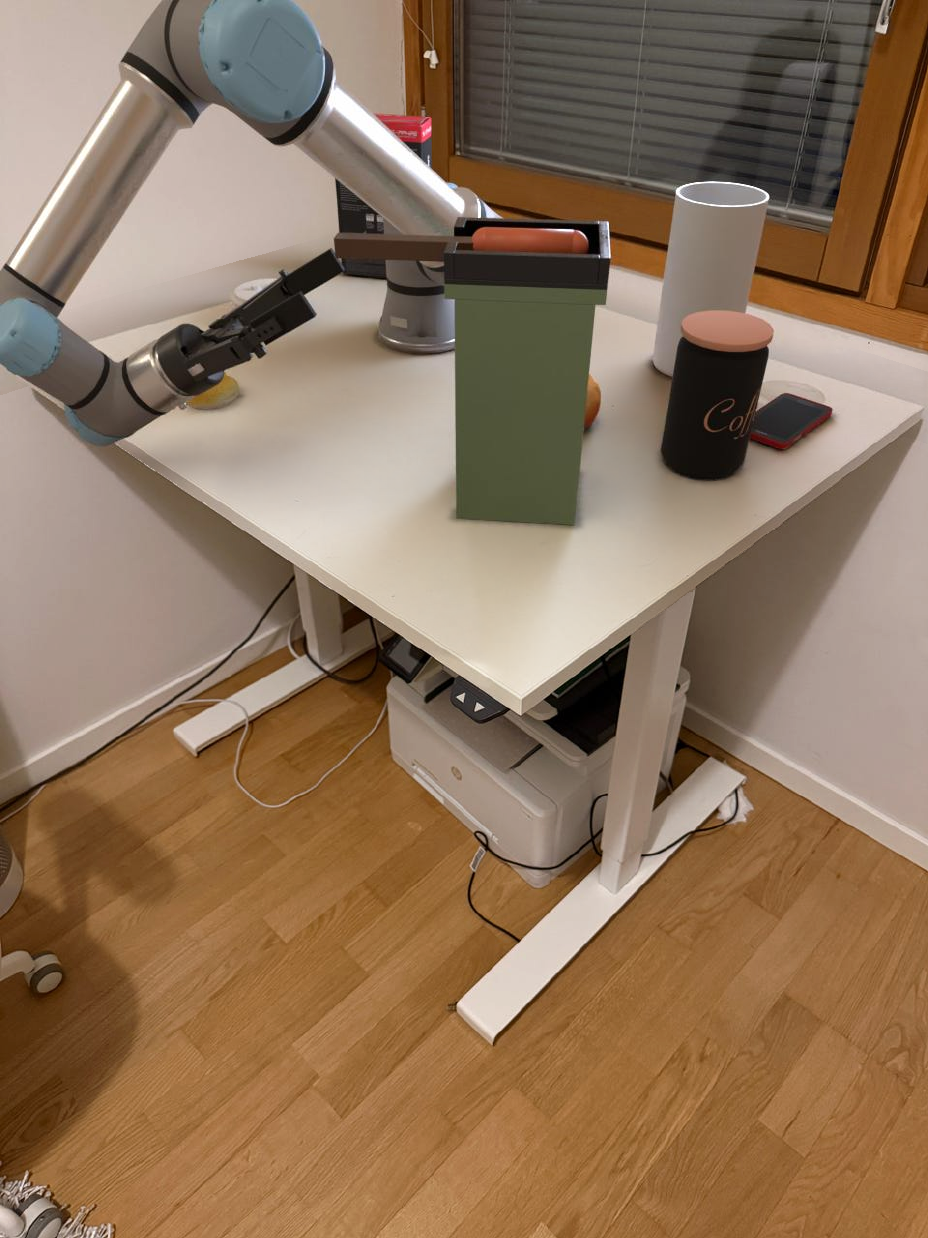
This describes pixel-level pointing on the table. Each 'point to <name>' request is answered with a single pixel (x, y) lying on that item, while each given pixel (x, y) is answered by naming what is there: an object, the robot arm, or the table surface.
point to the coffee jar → (714, 393)
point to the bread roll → (217, 395)
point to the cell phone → (787, 420)
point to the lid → (248, 291)
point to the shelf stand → (520, 399)
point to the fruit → (592, 402)
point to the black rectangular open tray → (530, 258)
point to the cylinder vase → (708, 257)
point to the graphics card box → (359, 214)
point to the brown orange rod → (480, 241)
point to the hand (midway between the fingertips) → (324, 280)
